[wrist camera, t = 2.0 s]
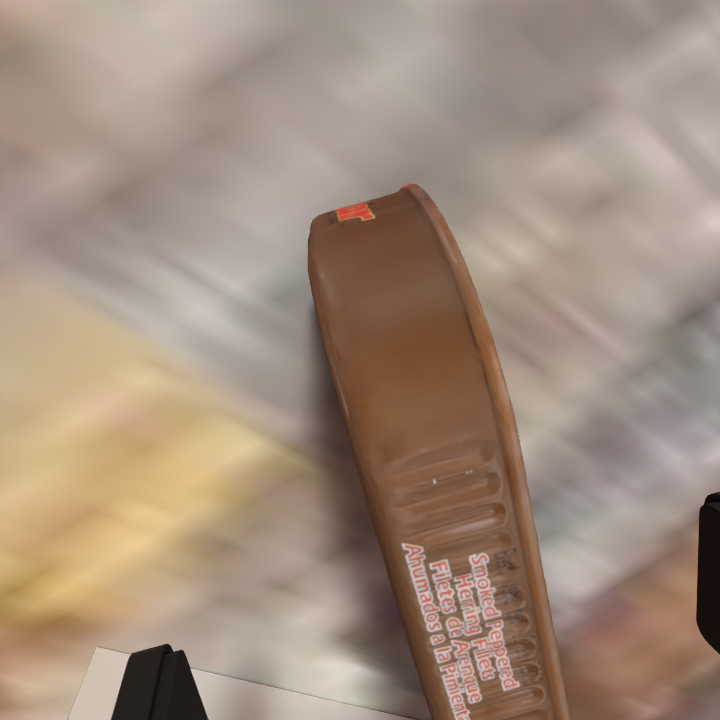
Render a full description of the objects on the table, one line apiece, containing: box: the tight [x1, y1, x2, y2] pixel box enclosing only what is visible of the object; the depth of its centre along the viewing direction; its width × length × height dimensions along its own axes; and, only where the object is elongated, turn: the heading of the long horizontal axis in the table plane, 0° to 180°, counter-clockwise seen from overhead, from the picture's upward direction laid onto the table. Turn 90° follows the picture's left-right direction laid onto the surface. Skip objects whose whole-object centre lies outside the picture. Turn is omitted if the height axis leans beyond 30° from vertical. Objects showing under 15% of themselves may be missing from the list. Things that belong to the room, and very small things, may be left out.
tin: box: [308, 184, 571, 720], centre depth 13 cm, size 15×3×8 cm, turn 15°
